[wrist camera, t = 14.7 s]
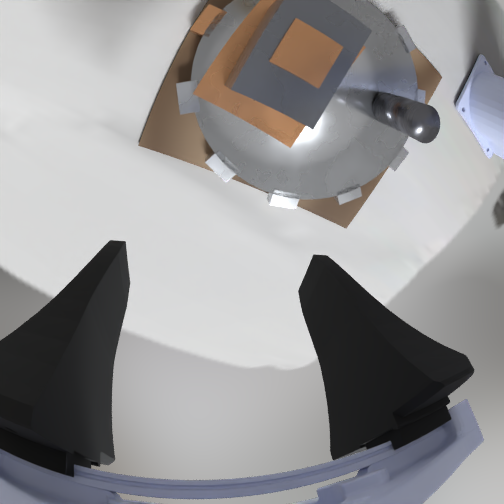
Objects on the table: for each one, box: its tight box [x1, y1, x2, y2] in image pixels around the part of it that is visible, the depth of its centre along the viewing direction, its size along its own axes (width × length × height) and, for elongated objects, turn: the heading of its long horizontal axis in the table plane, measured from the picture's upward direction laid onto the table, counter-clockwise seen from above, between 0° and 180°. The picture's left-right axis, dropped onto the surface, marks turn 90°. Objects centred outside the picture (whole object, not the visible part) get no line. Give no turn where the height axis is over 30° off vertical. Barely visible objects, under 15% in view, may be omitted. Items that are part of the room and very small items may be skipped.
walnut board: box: [138, 0, 442, 228], centre depth 15 cm, size 18×17×1 cm
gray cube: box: [224, 0, 372, 130], centre depth 11 cm, size 4×6×5 cm, turn 153°
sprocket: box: [176, 0, 440, 210], centre depth 13 cm, size 18×18×6 cm
